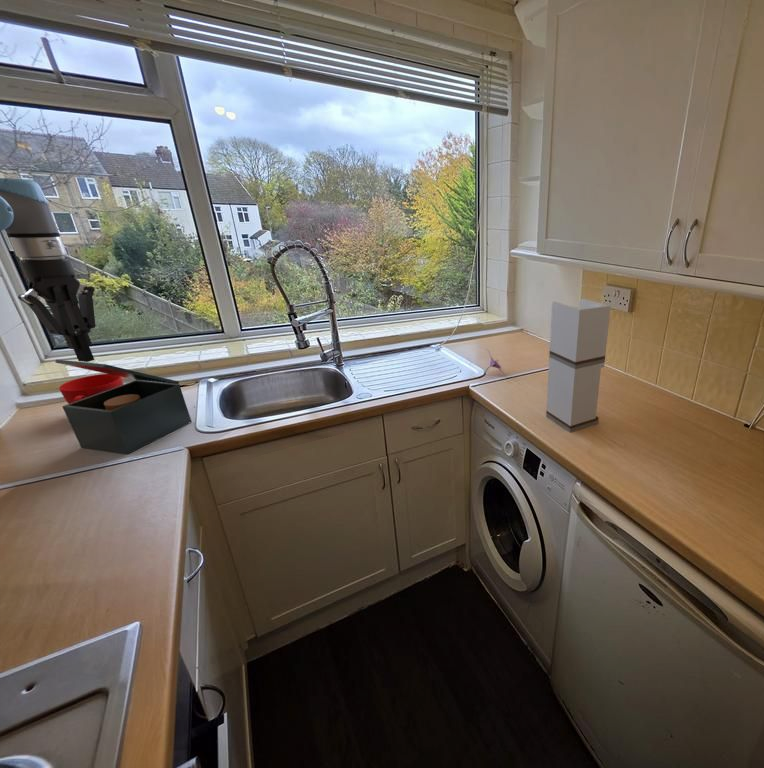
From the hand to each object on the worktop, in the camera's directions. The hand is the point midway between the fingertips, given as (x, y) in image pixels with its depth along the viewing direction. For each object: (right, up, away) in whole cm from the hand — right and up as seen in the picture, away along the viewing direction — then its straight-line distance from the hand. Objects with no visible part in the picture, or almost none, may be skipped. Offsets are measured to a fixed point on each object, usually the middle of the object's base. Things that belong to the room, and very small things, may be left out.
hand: (86, 360), depth 97 cm
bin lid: (+1, -3, +7) cm, 8 cm away
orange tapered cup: (0, -19, +12) cm, 22 cm away
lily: (+95, -2, +59) cm, 112 cm away
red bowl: (-20, -15, +23) cm, 34 cm away
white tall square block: (+120, -17, +25) cm, 124 cm away
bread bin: (+1, -19, +13) cm, 23 cm away
